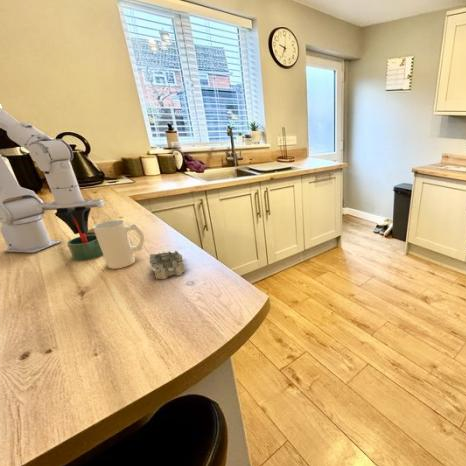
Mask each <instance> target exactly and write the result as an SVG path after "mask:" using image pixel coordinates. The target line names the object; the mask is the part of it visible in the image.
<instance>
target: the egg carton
mask: <svg viewBox="0 0 466 466" xmlns="http://www.w3.org/2000/svg"><path fill="white" fill-rule="evenodd" d="M185 267H186V266H185V264H184V261H183V256H182V254H181V253H179V251H178V250H174V252H171V251H168V252H158V253H154V254H153V253H150V254H149V268H150V269H151V270H152V271H153V272H154V275H155V279H157V280H159V279H160V280H165V279H168V277H170V276H174V275H175V276H180V275H183V273H185V272H186V268H185Z"/></svg>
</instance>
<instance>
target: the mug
mask: <svg viewBox="0 0 466 466" xmlns="http://www.w3.org/2000/svg"><path fill="white" fill-rule="evenodd" d="M92 229H94V232H95V234H96V237H97V240H98V242H99V245H100V247H101V250H102V253H103V255H102V256H103V258H104V260H105V263H106V266H107V267H108V268H109V269H115V270H116V269H122V268H126V267H129V266H131V265H132V264H134V263H135V262H136V259H135V254H134V253H136V252H139V251H142V250H143V247H144V242H145V236H144V233H143V231H142V229H141V228H140V227H139V226H138V225H137V224H136V223H131V224H129V225H126V221H125V220H123V219H111V220H106V221H105V220H104V221H101V222H98V223H95V224H93V226H92ZM130 231H135V232H136V233H137V234H138V237H139V241H138V243H137V245H133V246H132V244H131V240H130V236H129V232H130Z"/></svg>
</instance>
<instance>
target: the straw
mask: <svg viewBox="0 0 466 466" xmlns="http://www.w3.org/2000/svg"><path fill="white" fill-rule="evenodd" d="M72 216H73V215H72ZM73 219H74V222H75V224H76V227H77V230H78V232H79V233H78V235H79V237H80V238H81V240H82V243H87V242H88V241H87V238H86V235H85V233H83V234H82V233H81V231H80V229H79V226H78V223H77V221H76V220H75V218H74V216H73Z"/></svg>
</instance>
